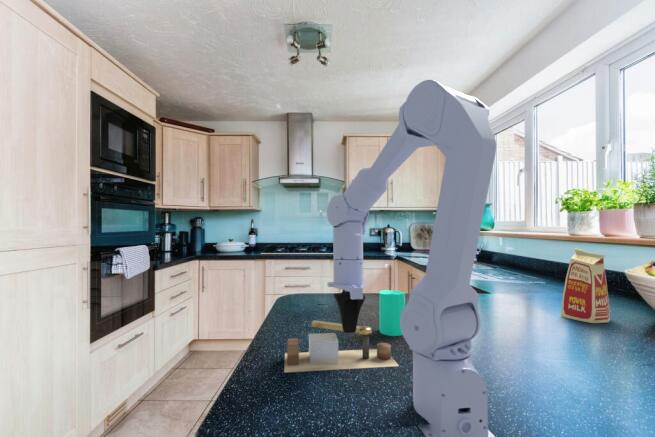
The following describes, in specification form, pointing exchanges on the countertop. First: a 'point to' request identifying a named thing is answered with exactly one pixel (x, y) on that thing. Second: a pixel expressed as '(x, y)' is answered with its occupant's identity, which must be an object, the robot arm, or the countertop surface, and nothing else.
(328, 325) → the lever
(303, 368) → the wooden tray with blocks
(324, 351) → the frosted white cube
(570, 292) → the milk carton
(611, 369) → the countertop surface
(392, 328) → the candle
